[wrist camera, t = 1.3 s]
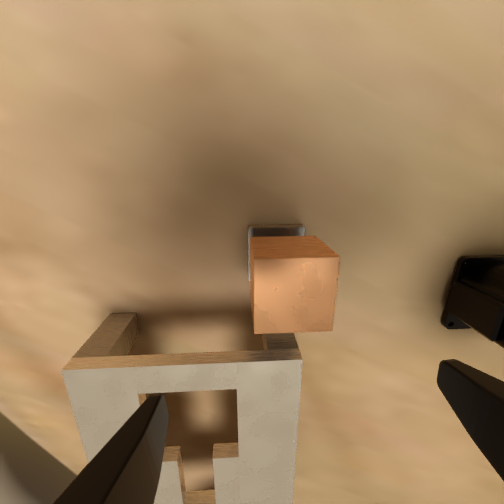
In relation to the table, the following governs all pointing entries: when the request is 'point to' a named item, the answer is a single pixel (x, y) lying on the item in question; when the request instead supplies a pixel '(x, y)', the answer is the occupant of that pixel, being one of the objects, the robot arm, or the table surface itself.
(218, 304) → the table surface
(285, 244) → the peg
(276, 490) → the keyhole stand
